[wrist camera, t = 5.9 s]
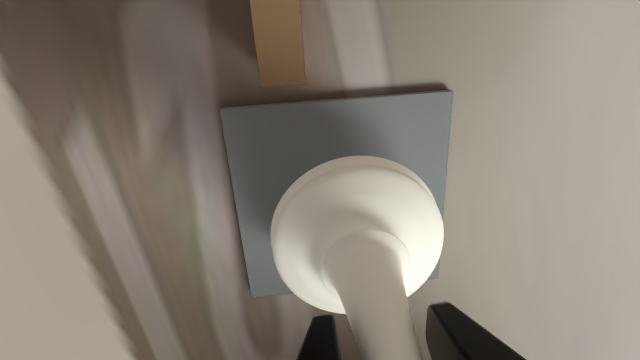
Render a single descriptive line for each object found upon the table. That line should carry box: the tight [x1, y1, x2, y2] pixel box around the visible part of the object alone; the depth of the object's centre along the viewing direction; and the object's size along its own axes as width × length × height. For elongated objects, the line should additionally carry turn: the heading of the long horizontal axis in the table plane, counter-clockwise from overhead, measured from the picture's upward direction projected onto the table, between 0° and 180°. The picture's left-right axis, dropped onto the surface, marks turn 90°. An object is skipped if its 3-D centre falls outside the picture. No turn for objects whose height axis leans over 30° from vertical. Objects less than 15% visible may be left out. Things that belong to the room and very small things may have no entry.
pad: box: [219, 90, 453, 298], centre depth 13 cm, size 7×7×1 cm
